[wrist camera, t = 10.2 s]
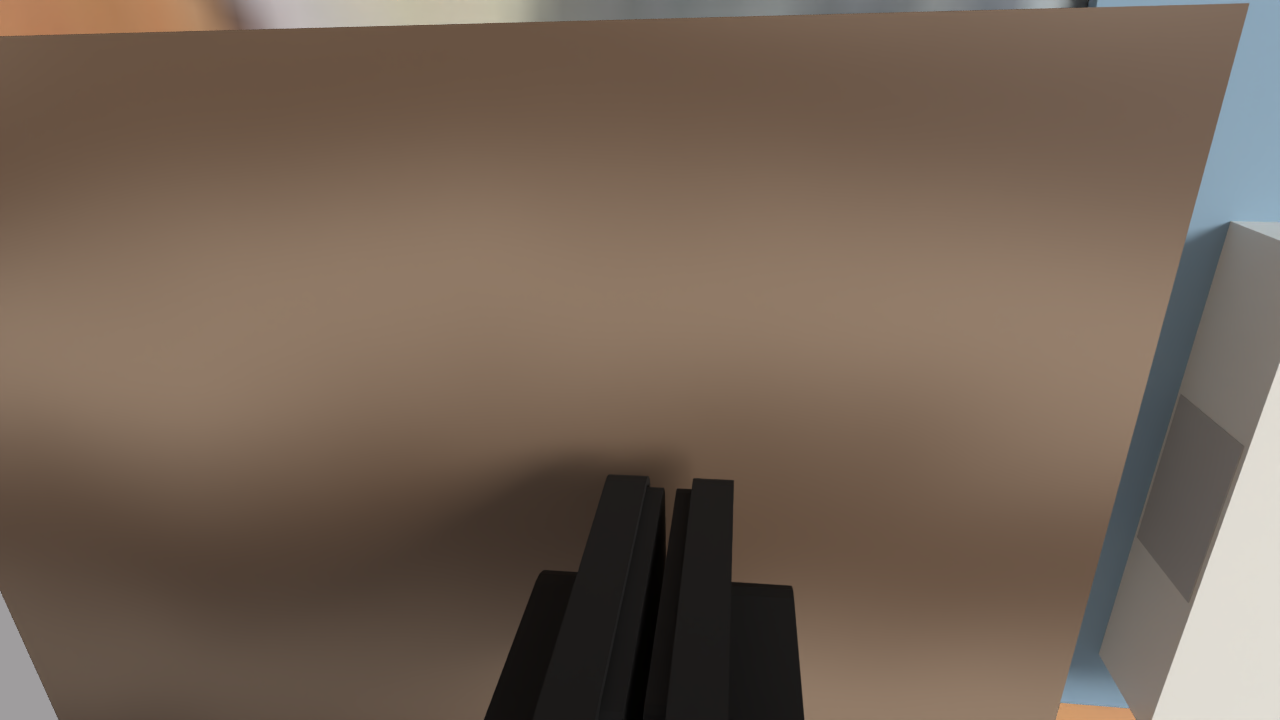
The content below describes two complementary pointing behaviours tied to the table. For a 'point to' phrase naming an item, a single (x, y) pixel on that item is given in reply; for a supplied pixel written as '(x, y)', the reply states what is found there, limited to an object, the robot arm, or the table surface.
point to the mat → (1189, 304)
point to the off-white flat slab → (1212, 515)
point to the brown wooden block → (579, 339)
